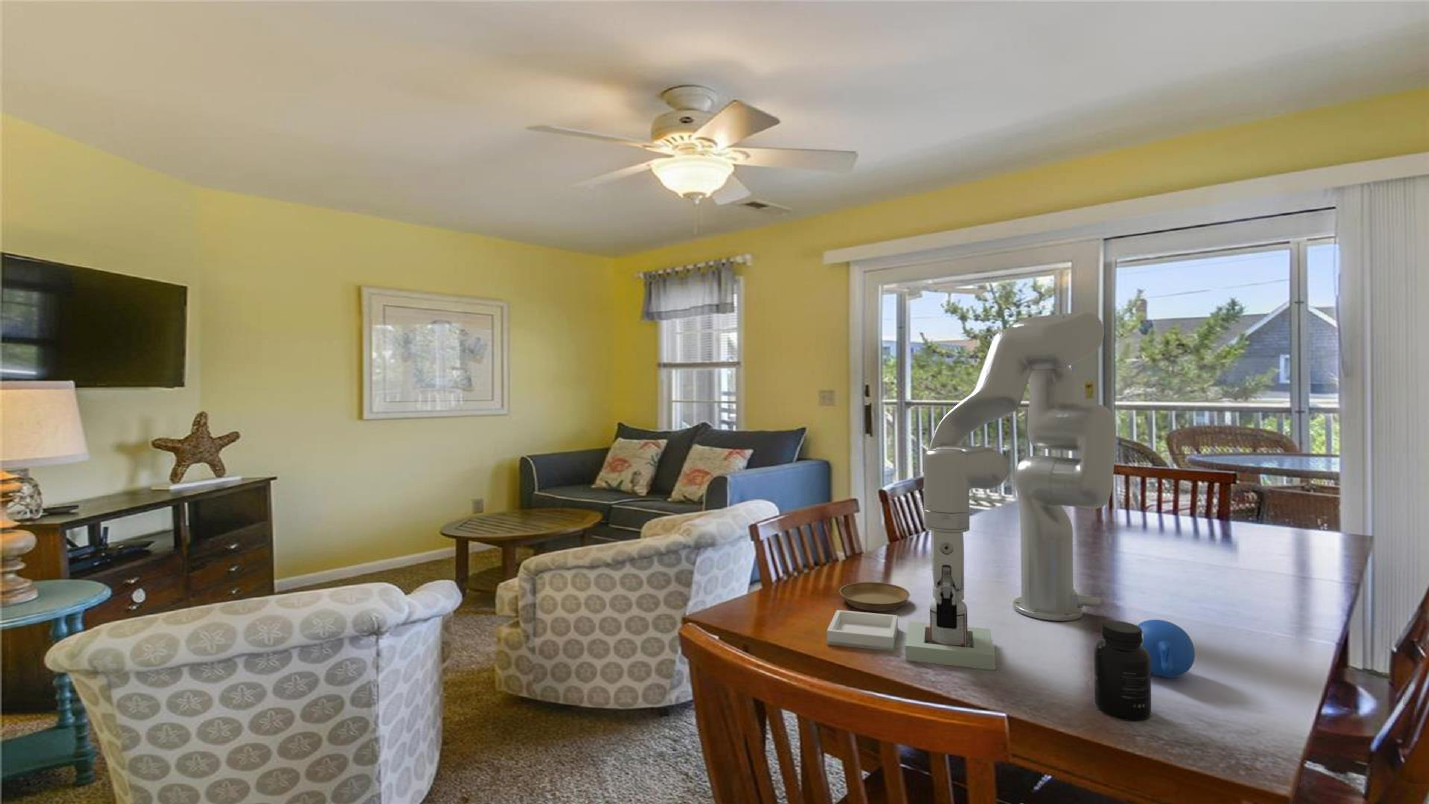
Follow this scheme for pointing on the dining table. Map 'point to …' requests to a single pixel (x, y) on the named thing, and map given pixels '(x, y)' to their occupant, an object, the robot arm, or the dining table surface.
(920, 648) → the socket holder
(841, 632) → the tray
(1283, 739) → the dining table surface
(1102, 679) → the supplement bottle
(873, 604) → the plant saucer
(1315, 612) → the dining table surface
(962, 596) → the pill bottle
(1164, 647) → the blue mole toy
